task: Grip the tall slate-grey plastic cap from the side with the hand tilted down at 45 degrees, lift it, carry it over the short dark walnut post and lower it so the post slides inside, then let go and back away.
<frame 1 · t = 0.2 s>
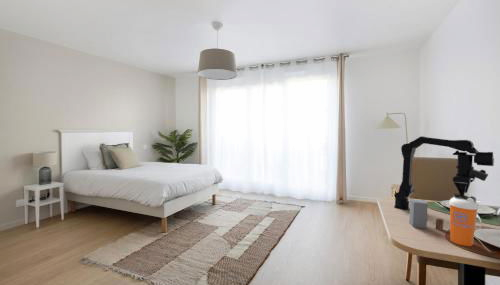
hand: (463, 194, 120), 15 cm above the table, tool pointing down, fingers open, 9 cm apart
post: (439, 229, 111), on the table
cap: (417, 225, 115), on the table
shaker bottle: (461, 242, 98), on the table
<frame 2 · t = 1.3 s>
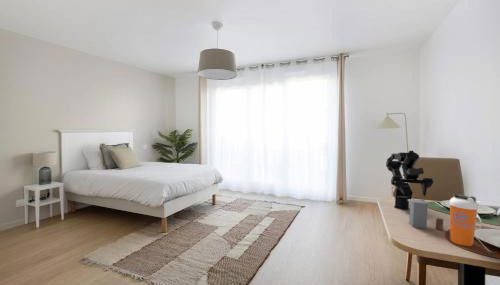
hand: (414, 195, 122), 13 cm above the table, tool tilted 45°, fingers open, 9 cm apart
nothing on the table moved.
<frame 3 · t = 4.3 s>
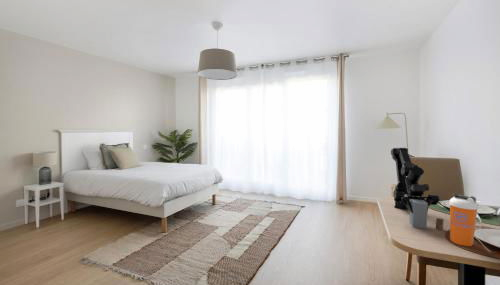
hand: (419, 213, 114), 7 cm above the table, tool tilted 45°, fingers closed on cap, 6 cm apart
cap: (417, 225, 115), on the table, touching gripper
everything else where it was.
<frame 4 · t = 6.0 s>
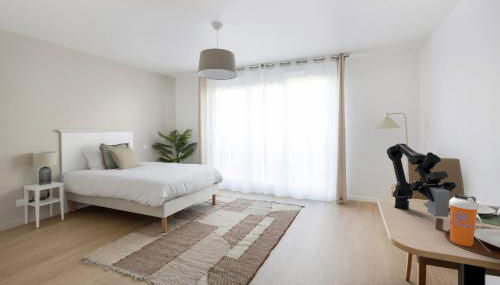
hand: (440, 201, 110), 14 cm above the table, tool tilted 45°, fingers closed on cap, 6 cm apart
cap: (437, 214, 111), point 7 cm above the table, touching gripper
everything else where it was.
when the fingers open (7 cm above the table, at t = 7.9 s): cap stays where it is, on the table.
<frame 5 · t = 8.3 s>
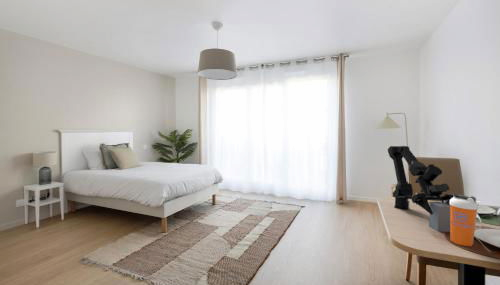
hand: (442, 214, 110), 8 cm above the table, tool tilted 45°, fingers open, 9 cm apart
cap: (439, 229, 111), on the table
everything else where it was.
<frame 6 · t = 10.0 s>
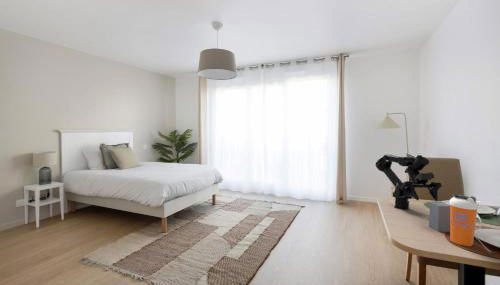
hand: (427, 200, 121), 11 cm above the table, tool tilted 45°, fingers open, 9 cm apart
nothing on the table moved.
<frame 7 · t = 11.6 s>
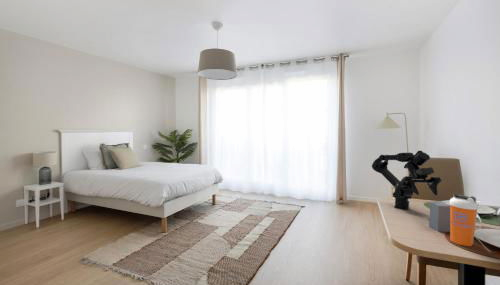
hand: (427, 194, 122), 14 cm above the table, tool tilted 45°, fingers open, 9 cm apart
nothing on the table moved.
at the end: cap 0.0 cm from the post (horizontally); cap on the table; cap tilted 0° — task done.
